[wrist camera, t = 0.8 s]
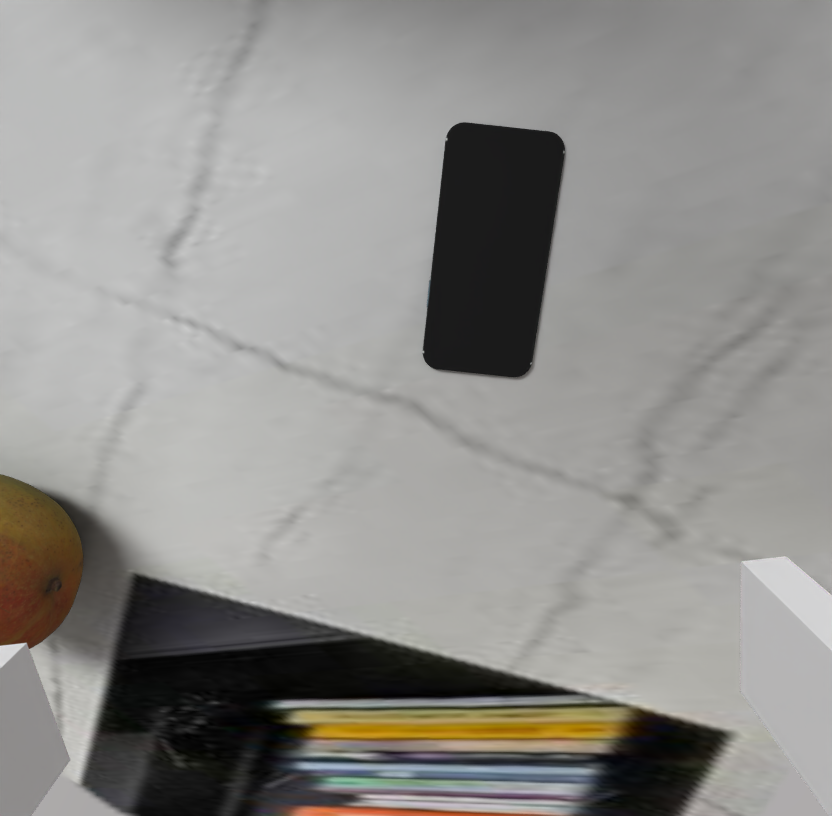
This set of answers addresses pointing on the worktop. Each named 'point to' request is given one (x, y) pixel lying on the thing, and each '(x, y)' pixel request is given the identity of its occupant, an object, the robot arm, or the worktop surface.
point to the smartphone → (491, 248)
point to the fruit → (35, 563)
